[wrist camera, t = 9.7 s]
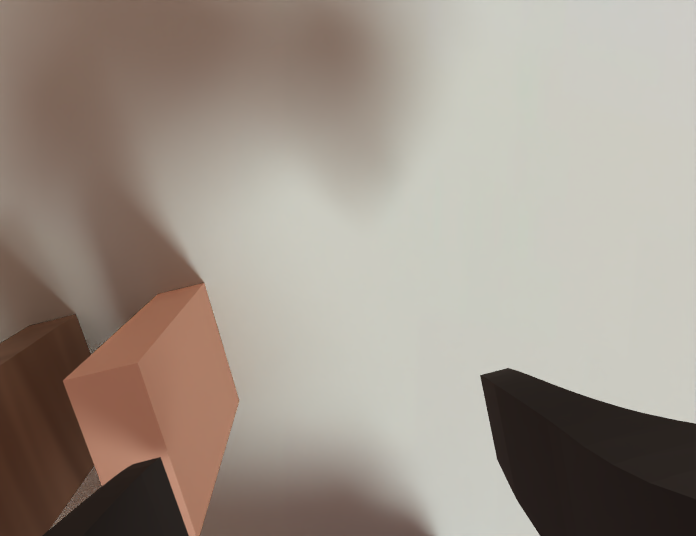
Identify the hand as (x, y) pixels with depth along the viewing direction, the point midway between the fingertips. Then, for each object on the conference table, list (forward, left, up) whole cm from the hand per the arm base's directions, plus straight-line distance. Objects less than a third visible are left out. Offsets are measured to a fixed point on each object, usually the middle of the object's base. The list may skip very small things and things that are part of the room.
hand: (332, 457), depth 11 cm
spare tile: (+5, 0, -10) cm, 11 cm away
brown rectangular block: (+10, 0, -10) cm, 14 cm away
